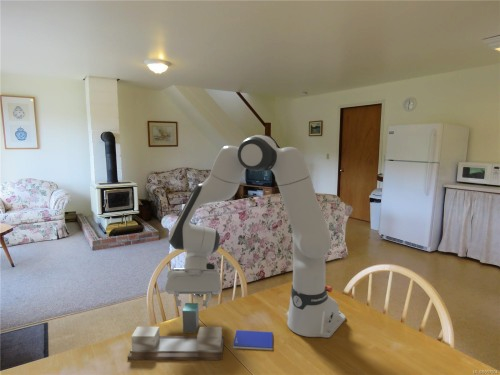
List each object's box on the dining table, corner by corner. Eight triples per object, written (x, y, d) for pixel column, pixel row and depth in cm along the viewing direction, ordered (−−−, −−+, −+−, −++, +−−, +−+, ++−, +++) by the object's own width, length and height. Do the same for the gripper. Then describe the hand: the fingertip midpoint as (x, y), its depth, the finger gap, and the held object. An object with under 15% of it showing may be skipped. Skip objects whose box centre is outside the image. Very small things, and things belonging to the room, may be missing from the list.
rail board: (224, 338, 104) (223, 322, 103) (221, 359, 94) (220, 341, 93) (139, 338, 104) (138, 322, 103) (127, 359, 94) (126, 341, 93)
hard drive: (233, 344, 99) (272, 347, 98) (236, 329, 107) (272, 331, 106) (233, 349, 99) (272, 351, 99) (236, 333, 108) (272, 335, 107)
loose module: (198, 323, 112) (198, 303, 111) (196, 332, 107) (195, 310, 106) (186, 323, 112) (185, 303, 111) (183, 332, 107) (182, 310, 106)
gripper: (166, 265, 117) (160, 303, 109) (221, 265, 117) (219, 303, 109) (170, 271, 122) (164, 308, 114) (223, 271, 122) (220, 308, 114)
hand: (191, 306), depth 111 cm, fingers open, 8 cm apart
